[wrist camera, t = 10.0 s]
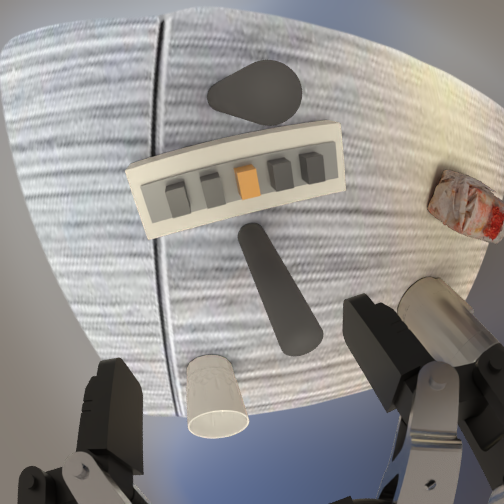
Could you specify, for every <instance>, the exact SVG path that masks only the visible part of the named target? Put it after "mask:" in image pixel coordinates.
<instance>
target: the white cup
mask: <svg viewBox="0 0 504 504" xmlns="http://www.w3.org/2000/svg"><path fill="white" fill-rule="evenodd" d="M186 391H187V396H186V399H187V420H188V429H189V431H190V432H191V433H193V434H194V435H197V436H199V437H204V438H222V437H227V436H231V435H234V434H237V433H239V432H241V431H242V430H244V429H245V428H246V427H247V425H248V424H249V418H248V414H247V411H246V408H245V405H244V401H243V398H242V395H241V392H240V389H239V386H238V383H237V380H236V378H235V375H234V372H233V368H232V365H231V363H230V362H229V361H228V360H227V359H226V358H224V357H221V356H218V355H204V356H201V357H197V358H196V359H194V360H193V361H191V362H190V363H189V365H188V367H187V386H186Z"/></svg>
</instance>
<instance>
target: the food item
mask: <svg viewBox="0 0 504 504" xmlns="http://www.w3.org/2000/svg"><path fill="white" fill-rule="evenodd" d="M443 172H444V173H443V174H442V178H441V179H440V181H439V184H438V185H437V186H436V188H435V191H434V195H433V197H432V199H431V201H430V203H429V205H428V208H427V209H428V210H429V212H430V213H431V214H432V215H434V216H435V217H436V218H437V219H439V220H440V221H441V222H443V224H444V225H447V226H448V227H449V228H451V229H452V230H454V231H456V232H458V233H460V234H463V235H465V236H469V237H472V238H476V239H480V240H484V241H486V242H492V243H495V244H497V243H498V242H500V241H501V240H502V238H503V237H504V202H503V201H502V200H500V199H499V198H497V197H496V196H494V194H493V193H491V192H490V191H493V192H495V191H494V190H492V189H491V188H490V187H488V186H486V185H485V184H483V183H482V182H481V181H478V180H476V179H474V178H472V177H470V176H468V175H464V174H461V173H459V172H455V171H451V170H445V171H443ZM489 190H490V191H489Z"/></svg>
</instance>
